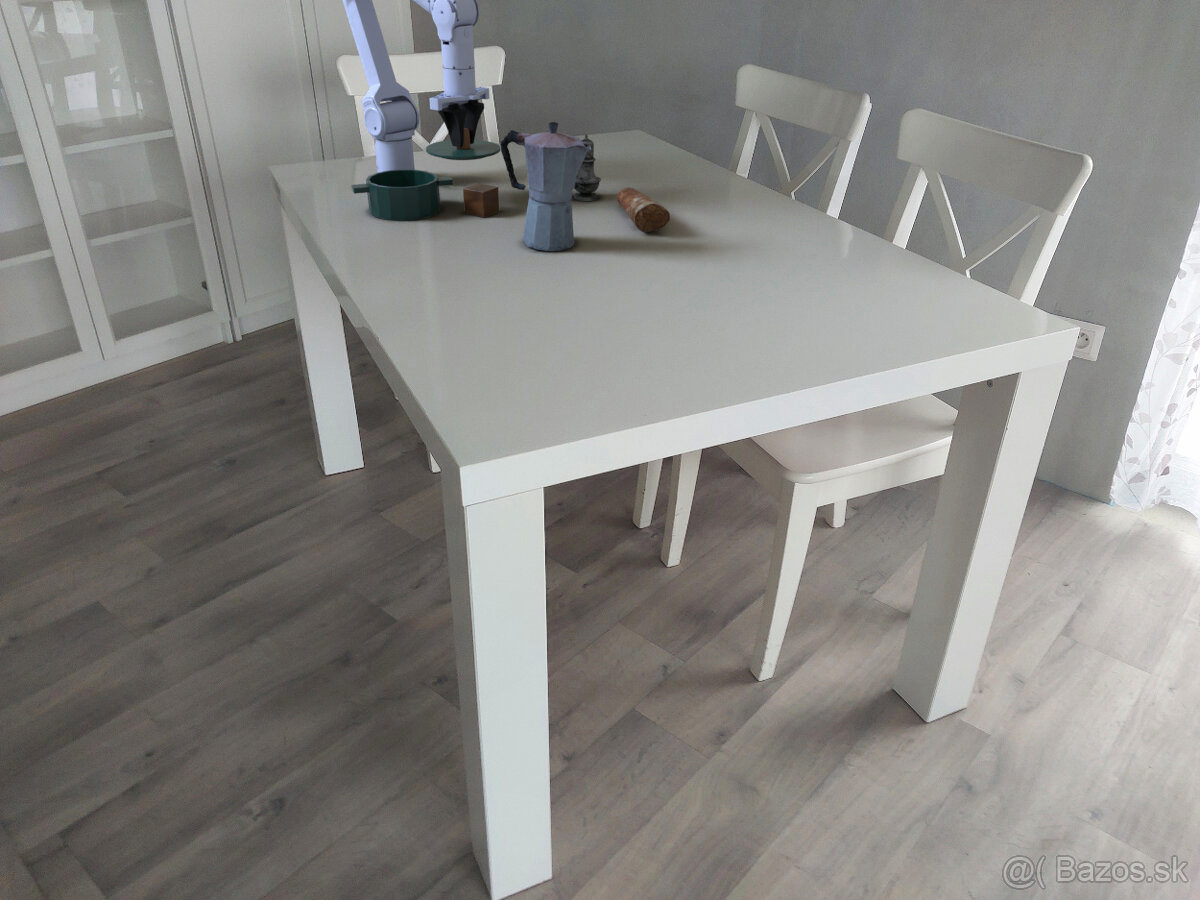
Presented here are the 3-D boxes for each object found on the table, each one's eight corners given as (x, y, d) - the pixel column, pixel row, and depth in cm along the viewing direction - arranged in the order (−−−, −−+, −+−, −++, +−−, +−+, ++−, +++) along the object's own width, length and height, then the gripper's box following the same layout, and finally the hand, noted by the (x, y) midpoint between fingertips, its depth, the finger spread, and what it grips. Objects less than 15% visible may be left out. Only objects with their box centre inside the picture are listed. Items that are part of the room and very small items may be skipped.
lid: (418, 148, 179) (417, 124, 176) (488, 142, 183) (487, 119, 181) (436, 165, 168) (434, 139, 166) (510, 159, 172) (509, 134, 170)
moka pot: (584, 256, 153) (585, 130, 143) (494, 249, 156) (489, 124, 146) (596, 238, 161) (598, 118, 151) (510, 231, 164) (506, 112, 154)
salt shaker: (600, 201, 181) (601, 138, 175) (569, 201, 181) (570, 137, 175) (600, 193, 186) (602, 131, 180) (571, 192, 186) (571, 130, 180)
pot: (349, 205, 176) (345, 173, 172) (444, 196, 182) (442, 166, 179) (362, 225, 165) (358, 191, 162) (462, 215, 172) (460, 182, 169)
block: (464, 213, 173) (462, 188, 170) (479, 207, 176) (478, 182, 174) (484, 217, 171) (482, 192, 168) (499, 211, 174) (498, 186, 172)
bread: (635, 237, 162) (636, 205, 160) (612, 206, 178) (613, 176, 176) (670, 235, 164) (672, 203, 161) (644, 204, 180) (645, 175, 177)
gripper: (449, 74, 161) (454, 155, 168) (501, 64, 171) (503, 140, 178) (418, 70, 164) (424, 149, 171) (471, 60, 174) (474, 135, 181)
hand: (463, 144), depth 175 cm, fingers closed on lid, 2 cm apart
